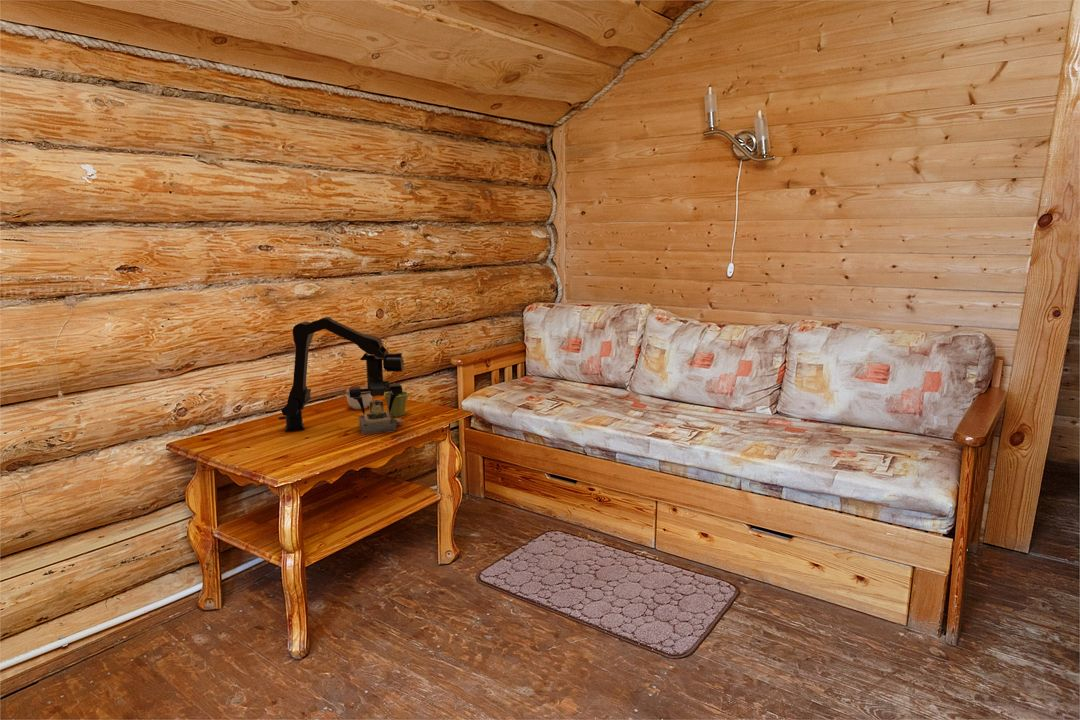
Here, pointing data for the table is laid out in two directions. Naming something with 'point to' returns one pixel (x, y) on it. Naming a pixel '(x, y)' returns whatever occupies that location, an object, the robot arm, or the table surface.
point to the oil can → (376, 409)
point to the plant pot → (397, 403)
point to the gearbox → (378, 423)
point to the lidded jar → (355, 403)
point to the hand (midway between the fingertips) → (376, 412)
